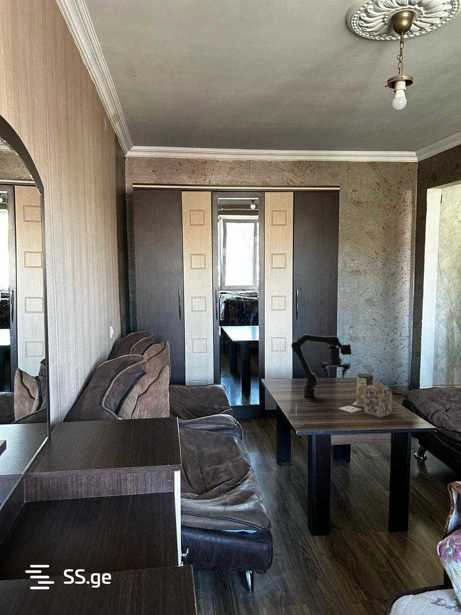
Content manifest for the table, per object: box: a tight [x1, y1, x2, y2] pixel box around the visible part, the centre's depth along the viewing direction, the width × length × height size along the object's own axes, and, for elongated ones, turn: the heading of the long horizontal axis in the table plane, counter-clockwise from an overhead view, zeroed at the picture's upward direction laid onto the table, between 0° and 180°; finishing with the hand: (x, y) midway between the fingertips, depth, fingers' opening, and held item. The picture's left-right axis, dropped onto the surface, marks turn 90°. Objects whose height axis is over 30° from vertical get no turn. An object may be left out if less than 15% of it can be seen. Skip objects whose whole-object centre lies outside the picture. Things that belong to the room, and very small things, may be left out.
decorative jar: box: [363, 381, 393, 418], centre depth 265 cm, size 12×12×18 cm
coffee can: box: [356, 373, 374, 386], centre depth 303 cm, size 10×10×14 cm
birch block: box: [355, 384, 367, 405], centre depth 283 cm, size 5×5×12 cm
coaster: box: [351, 401, 364, 408], centre depth 284 cm, size 9×9×1 cm
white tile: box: [338, 405, 363, 413], centre depth 273 cm, size 10×10×1 cm
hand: (336, 378), depth 298 cm, fingers open, 9 cm apart
